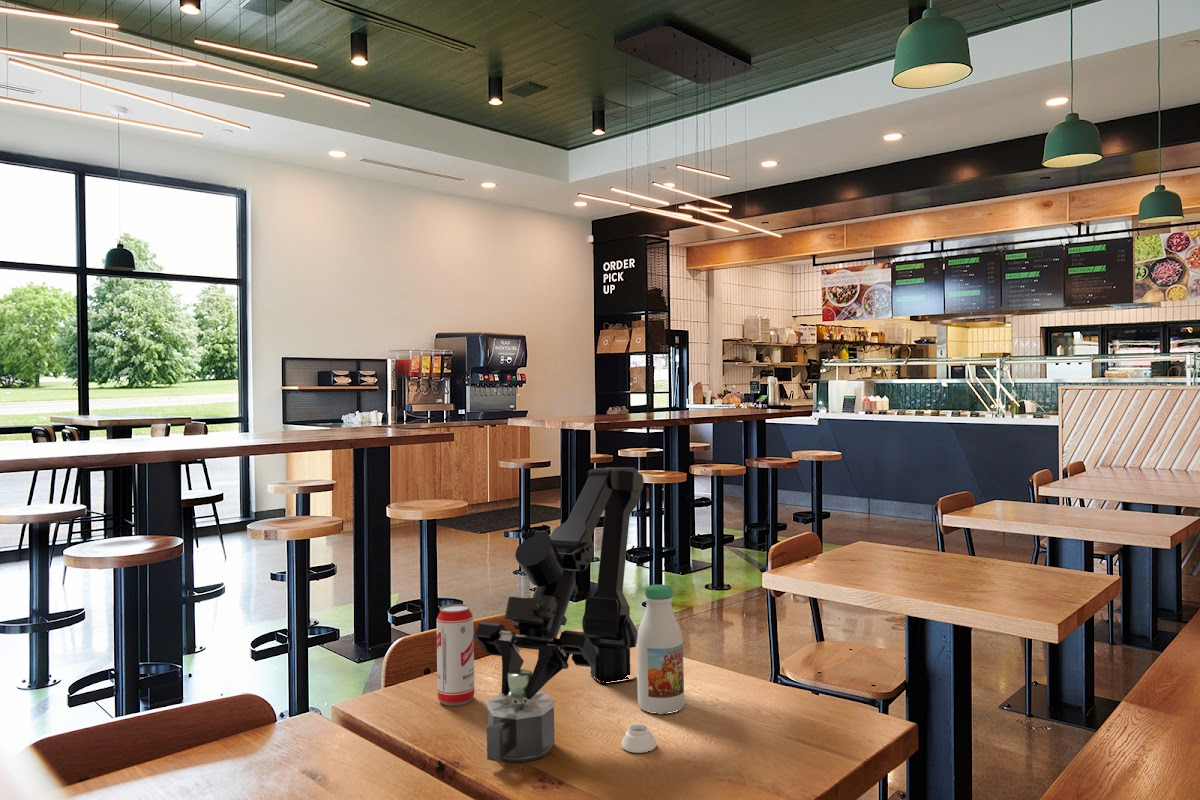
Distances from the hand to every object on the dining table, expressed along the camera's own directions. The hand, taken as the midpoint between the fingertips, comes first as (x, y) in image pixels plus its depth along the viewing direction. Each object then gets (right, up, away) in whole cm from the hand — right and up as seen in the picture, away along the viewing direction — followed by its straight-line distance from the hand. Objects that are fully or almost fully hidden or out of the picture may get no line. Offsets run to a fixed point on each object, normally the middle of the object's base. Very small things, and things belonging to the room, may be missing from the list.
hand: (515, 696), depth 116 cm
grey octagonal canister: (0, -8, 0) cm, 8 cm away
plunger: (+1, -7, +1) cm, 7 cm away
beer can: (-13, -9, +22) cm, 27 cm away
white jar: (+18, -8, +1) cm, 20 cm away
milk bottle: (+22, -8, +17) cm, 29 cm away
